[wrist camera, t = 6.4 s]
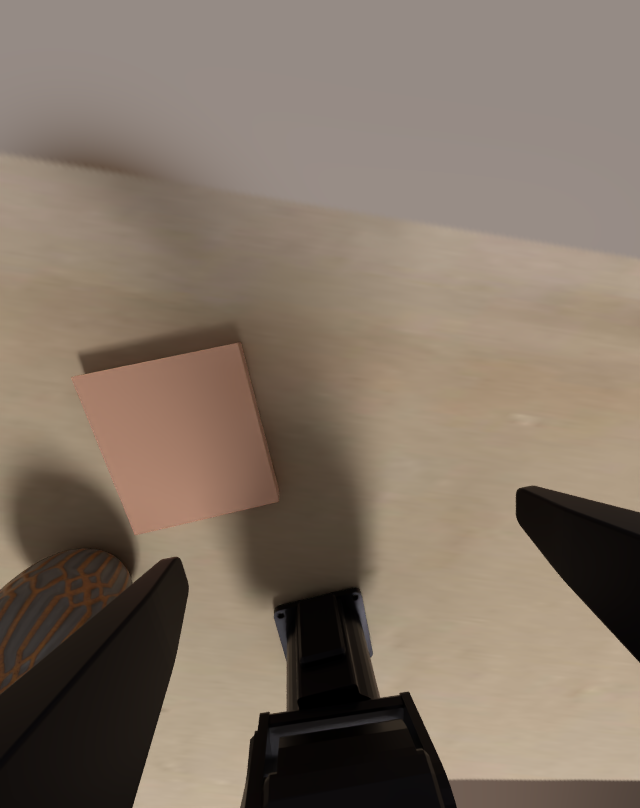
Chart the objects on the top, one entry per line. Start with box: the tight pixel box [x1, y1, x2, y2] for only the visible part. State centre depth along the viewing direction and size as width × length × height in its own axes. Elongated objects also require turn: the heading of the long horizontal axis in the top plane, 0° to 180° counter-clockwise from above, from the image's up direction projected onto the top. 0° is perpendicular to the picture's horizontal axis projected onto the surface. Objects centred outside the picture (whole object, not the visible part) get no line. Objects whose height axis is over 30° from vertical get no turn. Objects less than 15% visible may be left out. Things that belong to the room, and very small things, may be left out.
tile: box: [71, 342, 279, 535], centre depth 19 cm, size 10×2×9 cm
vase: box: [0, 549, 133, 694], centre depth 17 cm, size 7×7×9 cm
